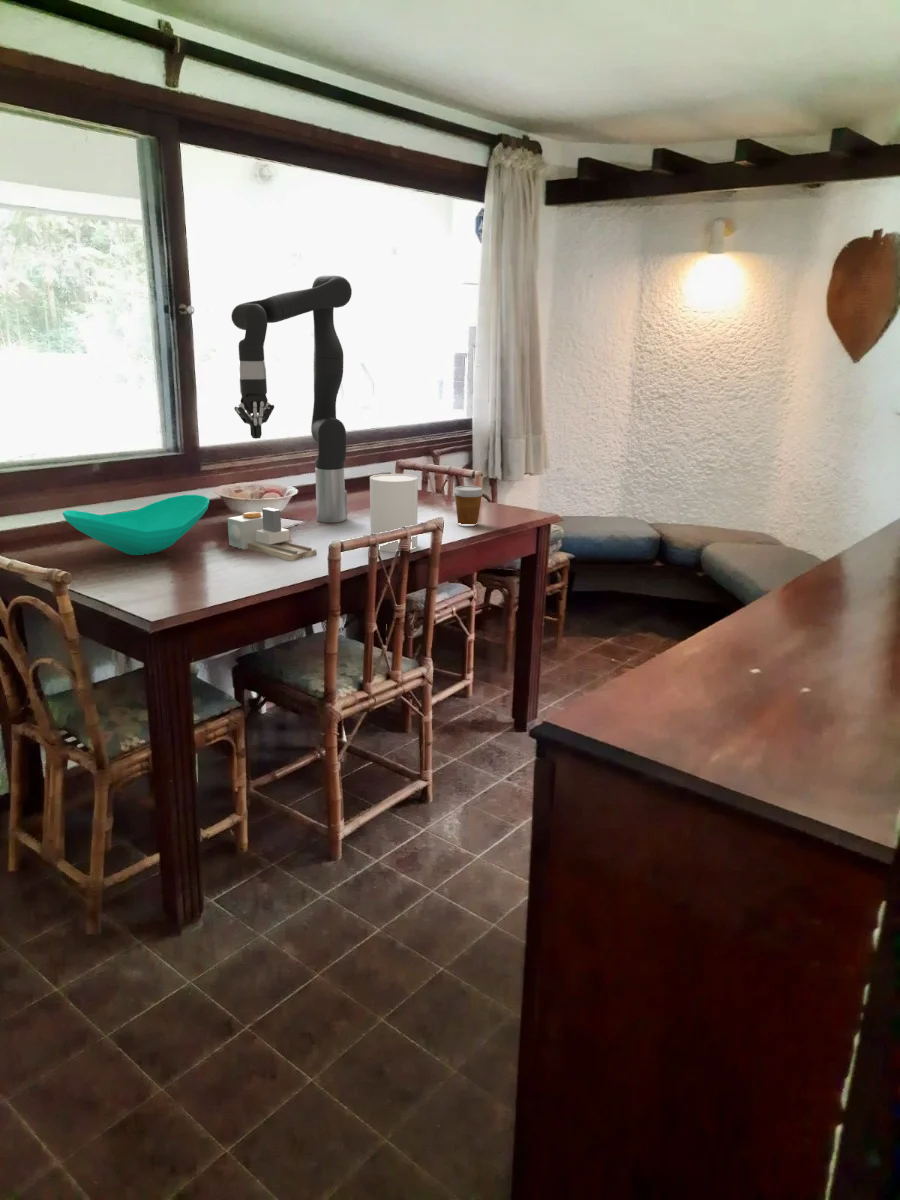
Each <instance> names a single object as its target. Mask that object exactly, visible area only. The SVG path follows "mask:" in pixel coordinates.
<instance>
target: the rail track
mask: <svg viewBox="0 0 900 1200" xmlns="http://www.w3.org/2000/svg"><path fill="white" fill-rule="evenodd" d="M252 541H253V543H248V549H247V550H251V549H252V551H255V552H258V551H259V553H262V552H263V553H262V554H265V553H266V555H270V556H273V557H275V558H279V559H282V558H283V560H286V559H287V560H286V561H289V560H290V561H291V560H292V561H296V559H297V560H301V559H304V558H303V557H305V558H309V557H312V555H314V556H316V555H317V549H316V548H312V547H310V546H306V545H303V544H300V543H295V542H292V541H284V542H279V543H275V544H270V545H269V544H265V543H262V542H258V541H256V539H254V540H252ZM308 556H309V557H308ZM300 558H301V559H300ZM292 561H291V562H292Z"/></svg>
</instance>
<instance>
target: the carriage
mask: <svg viewBox="0 0 900 1200" xmlns="http://www.w3.org/2000/svg"><path fill="white" fill-rule="evenodd" d="M261 510H262V511H261V512H262V513H263V529H261V530H256V541H258V542H262V543H265V544H269V545H270V544H275V543H279V542H284V541H288V542H290V530H289V529H287V528H283V527H282V519H281V518H282V517H281V509H277V508H273V507H263V508H261Z"/></svg>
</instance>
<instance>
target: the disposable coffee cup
mask: <svg viewBox="0 0 900 1200" xmlns="http://www.w3.org/2000/svg"><path fill="white" fill-rule="evenodd" d="M453 494H454V496H455V497H454V498H455V507H456V518H457V524H458V523H461V524H476V523H477V522H478V521H479V515H480V510H481V509H480V508H481V502H482V496H483V494H484V492H483V488H482V487H480V486H478V485H477V486H476V485H459V486H456V487H454V490H453ZM477 524H478V523H477Z"/></svg>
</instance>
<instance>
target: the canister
mask: <svg viewBox="0 0 900 1200" xmlns="http://www.w3.org/2000/svg"><path fill="white" fill-rule="evenodd" d="M418 479H419V478H418V476H416V475H413V474H407V473H406V474H405V473H381V474H374V475H371V476H369V503H370V504H369V505H370V506H369V511H370V513H369V515H370V516H369V519H370V521H369V522H370V527H369V528H370V535H371V534H373V533H380V532H385V531H390V530H394V529H398V528H401V527H405V526H410V525H416V524H417V525H418V490H419V489H418V488H419V487H418V482H419V481H418ZM411 542H412V548H414V547H416V546H417V547H418V535H417V536H416V537H412V539H411ZM398 544H399V543H398V541H395V542H392V543H388V544H386V545H383V546H380V552H390V553H397V552H396V550H397V547H398Z"/></svg>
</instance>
